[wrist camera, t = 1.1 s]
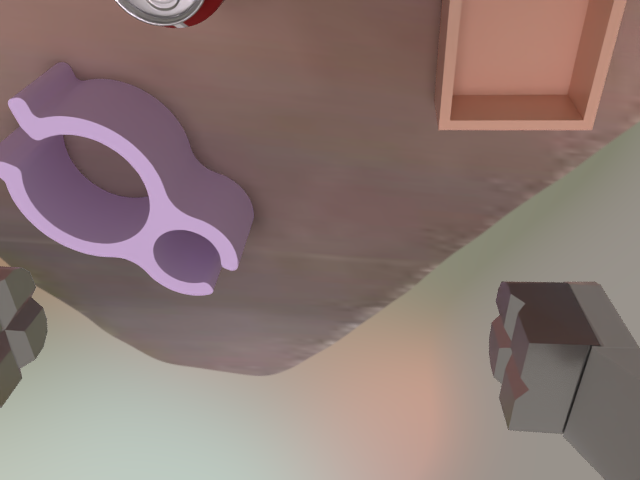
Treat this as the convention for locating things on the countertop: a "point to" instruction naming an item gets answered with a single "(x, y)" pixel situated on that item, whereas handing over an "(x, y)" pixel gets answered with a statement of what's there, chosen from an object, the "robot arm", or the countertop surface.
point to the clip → (117, 211)
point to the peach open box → (523, 63)
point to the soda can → (170, 11)
